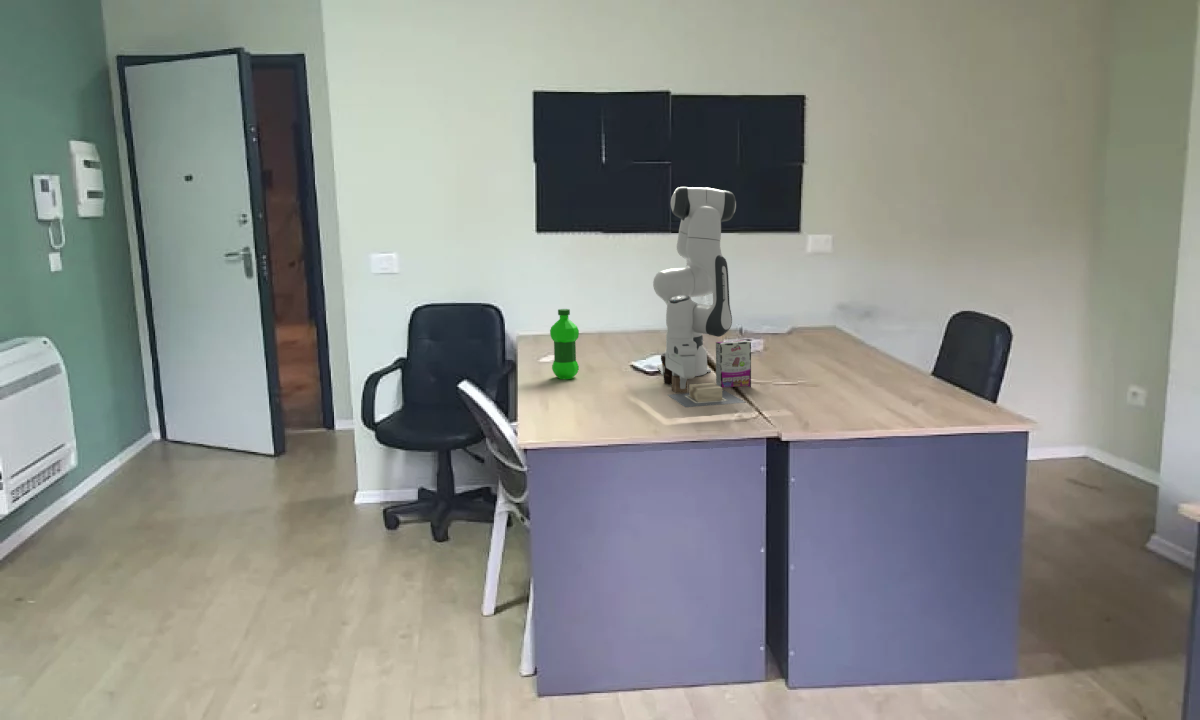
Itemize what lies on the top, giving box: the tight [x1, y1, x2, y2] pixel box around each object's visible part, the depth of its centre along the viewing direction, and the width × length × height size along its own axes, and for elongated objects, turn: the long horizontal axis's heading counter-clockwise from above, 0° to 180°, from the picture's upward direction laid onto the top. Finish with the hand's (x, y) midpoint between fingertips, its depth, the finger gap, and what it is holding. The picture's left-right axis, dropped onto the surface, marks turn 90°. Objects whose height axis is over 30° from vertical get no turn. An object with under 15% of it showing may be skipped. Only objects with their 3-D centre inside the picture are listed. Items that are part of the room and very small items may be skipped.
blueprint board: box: [667, 389, 747, 408], centre depth 298 cm, size 18×20×2 cm
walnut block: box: [671, 376, 688, 394], centre depth 309 cm, size 4×4×6 cm
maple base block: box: [689, 382, 723, 402], centre depth 298 cm, size 8×8×4 cm
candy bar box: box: [715, 339, 752, 388], centre depth 316 cm, size 11×5×16 cm, turn 105°
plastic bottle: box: [549, 308, 580, 380], centre depth 338 cm, size 10×10×25 cm
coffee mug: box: [660, 352, 673, 385], centre depth 330 cm, size 12×9×10 cm
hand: (679, 386), depth 309 cm, fingers closed on walnut block, 4 cm apart
